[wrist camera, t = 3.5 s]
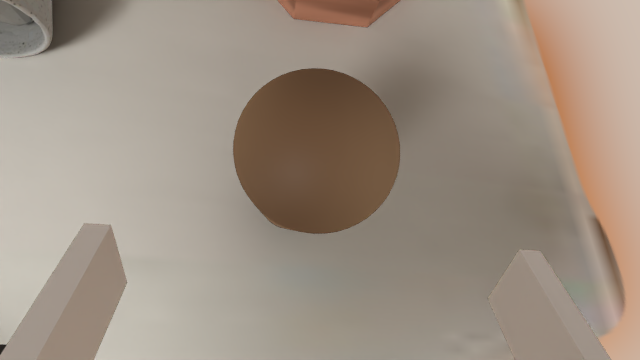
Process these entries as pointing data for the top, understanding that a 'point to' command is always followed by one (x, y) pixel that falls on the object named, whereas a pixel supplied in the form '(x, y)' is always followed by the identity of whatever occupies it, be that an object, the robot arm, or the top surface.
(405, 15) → the top surface
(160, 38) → the top surface
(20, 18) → the ceramic mug
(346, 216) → the dowel
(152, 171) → the top surface
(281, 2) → the terracotta faceted ring
